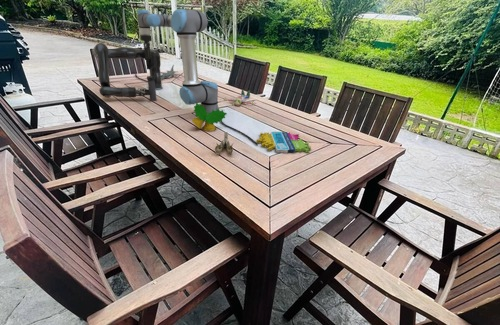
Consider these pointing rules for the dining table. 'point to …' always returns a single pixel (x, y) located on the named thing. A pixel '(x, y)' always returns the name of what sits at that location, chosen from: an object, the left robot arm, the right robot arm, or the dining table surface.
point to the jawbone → (224, 145)
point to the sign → (283, 142)
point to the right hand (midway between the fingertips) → (149, 68)
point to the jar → (152, 90)
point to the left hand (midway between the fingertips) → (151, 92)
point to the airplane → (169, 74)
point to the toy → (241, 99)
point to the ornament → (207, 117)
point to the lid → (150, 78)
